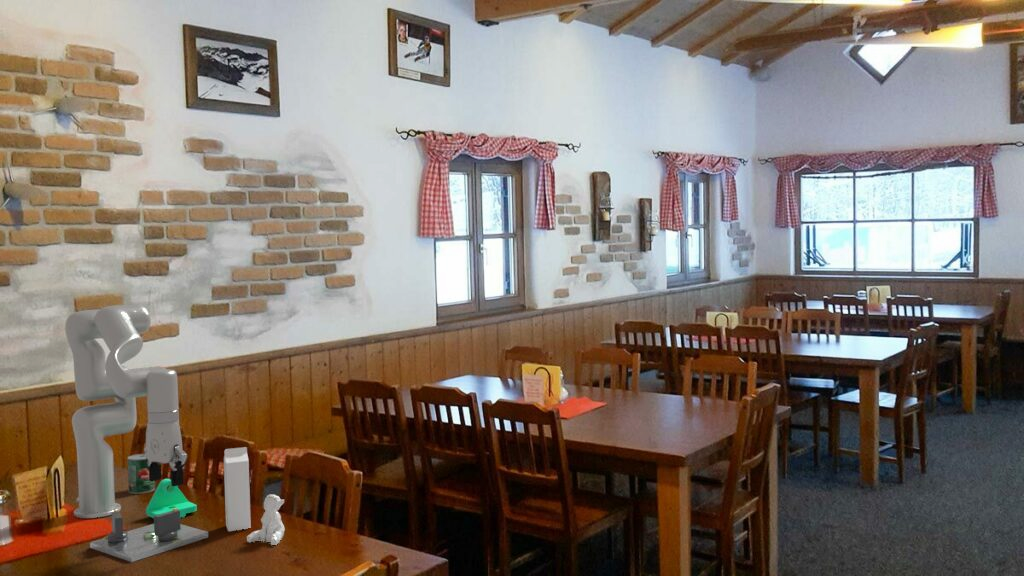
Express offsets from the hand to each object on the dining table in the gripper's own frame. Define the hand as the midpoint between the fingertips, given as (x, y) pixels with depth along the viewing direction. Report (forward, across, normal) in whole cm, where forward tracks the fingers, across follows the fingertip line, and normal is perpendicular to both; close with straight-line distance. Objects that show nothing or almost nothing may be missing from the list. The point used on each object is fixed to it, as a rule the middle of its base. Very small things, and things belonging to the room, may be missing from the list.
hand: (166, 482), depth 232 cm
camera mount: (+16, -22, +15) cm, 31 cm away
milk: (+16, +3, +19) cm, 25 cm away
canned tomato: (+16, -55, +26) cm, 62 cm away
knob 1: (+14, -11, -8) cm, 20 cm away
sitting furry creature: (+17, +19, +17) cm, 31 cm away
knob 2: (+15, -1, 0) cm, 15 cm away
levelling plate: (+16, -6, -2) cm, 17 cm away
